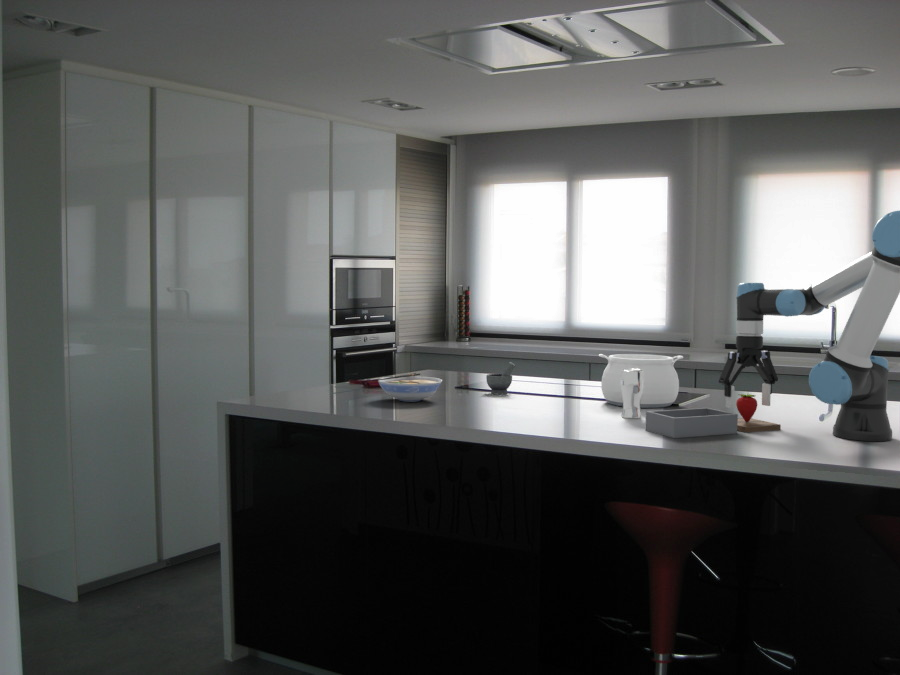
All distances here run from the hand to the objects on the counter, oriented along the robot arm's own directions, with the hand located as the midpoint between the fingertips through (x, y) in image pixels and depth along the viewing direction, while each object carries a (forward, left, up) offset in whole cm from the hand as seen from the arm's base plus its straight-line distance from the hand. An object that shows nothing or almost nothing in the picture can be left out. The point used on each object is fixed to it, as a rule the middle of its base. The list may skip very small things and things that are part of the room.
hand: (748, 406), depth 262 cm
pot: (+51, +2, -6) cm, 52 cm away
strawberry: (0, 0, -5) cm, 5 cm away
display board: (0, 0, -6) cm, 6 cm away
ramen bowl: (+84, +75, -6) cm, 113 cm away
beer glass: (+27, +22, -6) cm, 36 cm away
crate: (-1, +21, -6) cm, 22 cm away
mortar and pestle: (+91, +36, -6) cm, 98 cm away
